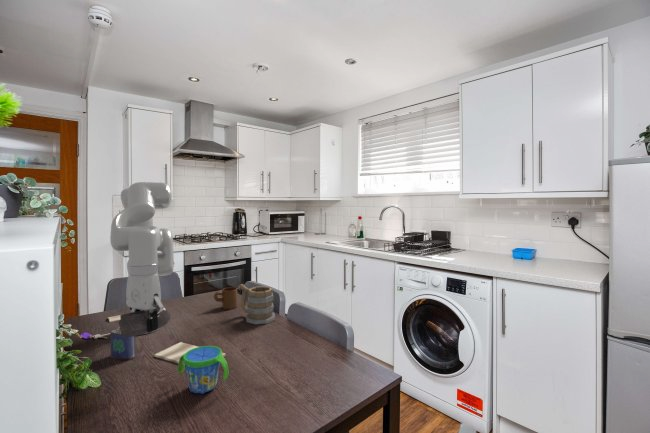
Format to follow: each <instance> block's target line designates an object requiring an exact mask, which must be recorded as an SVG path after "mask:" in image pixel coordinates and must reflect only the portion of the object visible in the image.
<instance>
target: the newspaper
mask: <svg viewBox="0 0 650 433" xmlns="http://www.w3.org/2000/svg"><path fill="white" fill-rule="evenodd" d="M163 310H166V308H165V307H164V309H163ZM166 311H167V310H166ZM121 315H122V314H120V315H119V314H118V315H114V316H110V317H107V320H108V321H109V323H113V322H117V321H118V322H119V321H120V320H121V318H120V316H121Z"/></svg>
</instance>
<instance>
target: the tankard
mask: <svg viewBox="0 0 650 433" xmlns="http://www.w3.org/2000/svg"><path fill="white" fill-rule="evenodd" d="M237 290H242V297H241V301H240V302H241V303H240V304H241V309H242V311H243V313H246V321H245V322H246V323H249V324H252V325H264V324H269V323H271V322H273V321H275V320H276V316H275V312H274V307H275V306H274V303H273V301H274V294H273V293H274V292H273V290H272V287H270V286H264V285H263V286H254V287H251V288H250V287H249V288H248V287H247V286H245V284H244V283H241V284H239V285H237ZM246 302H247V303H248V304H247V303H246Z"/></svg>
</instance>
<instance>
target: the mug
mask: <svg viewBox="0 0 650 433" xmlns="http://www.w3.org/2000/svg"><path fill="white" fill-rule="evenodd" d="M218 296H221V297H219V298H218ZM213 299H214V300H215V301H216V302H219V303H221V307H222V309H224V310H233V309H235V308H237V307H238V287H233V286H232V287H231V286H229V287H224V288H222V289H221V291H217V292H215V293H214V295H213Z"/></svg>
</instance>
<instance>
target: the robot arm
mask: <svg viewBox="0 0 650 433" xmlns="http://www.w3.org/2000/svg"><path fill="white" fill-rule="evenodd" d="M172 194H173V193H172V190H171V187H170V185H169V184H167V183H165V182H153V181H151V182H150V181H149V182H148V181H147V182H146V181H140V182H134V183H132V184H131V185H130V186H129V187H128V188H125V189H123V190H121V192H120V200H121V201H120V202H121V204H122V207H123V210H121V211H120V212H119V213H117V214H116V215H115V216H114V217H113V219H112V222H111V226H110V237H109V239H110V241H109V242H110V245H111V247H112V249H113V250H115V251H116V252H117V251H118V252H128V260H127V262H126V270H127V274H128V275H127V281H126V290H125V291H126V292H125V293H126V298H125V299H126V301H125V302H126V304H125V305H126V306H127V308H129V310H130V313H132V312H138V311H142V310H143V311H147V315H148V318H149V319H147V332H148V333H144V334H143V335H147V334H150V333H153V332H157V331H158V330H159V329H158V317H159V314H160V313H161V311H162V310H163V309H164V308H165V306H164V305H163V303H162V292H161V283H160V278H159V277H162V276H163V277H164V276H169V275H171V274H173V271H174V270H175V269H174V268H175V261H174V257H175V256H174V240H173V237H174V236H173V233H172V231H171V230H170V229H167V228H159V227H157V226H155V225H154V220H153V219H154V218H153V217H154V216H155V214H156V210H157V209H159V210H160V209H161V210H162V209H163V210H164V209H167V208H169V206H170V205H171V202H172V197H173V196H172ZM158 252H160V253H158ZM152 309H153V310H154V311H153V313H151V310H152Z"/></svg>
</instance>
